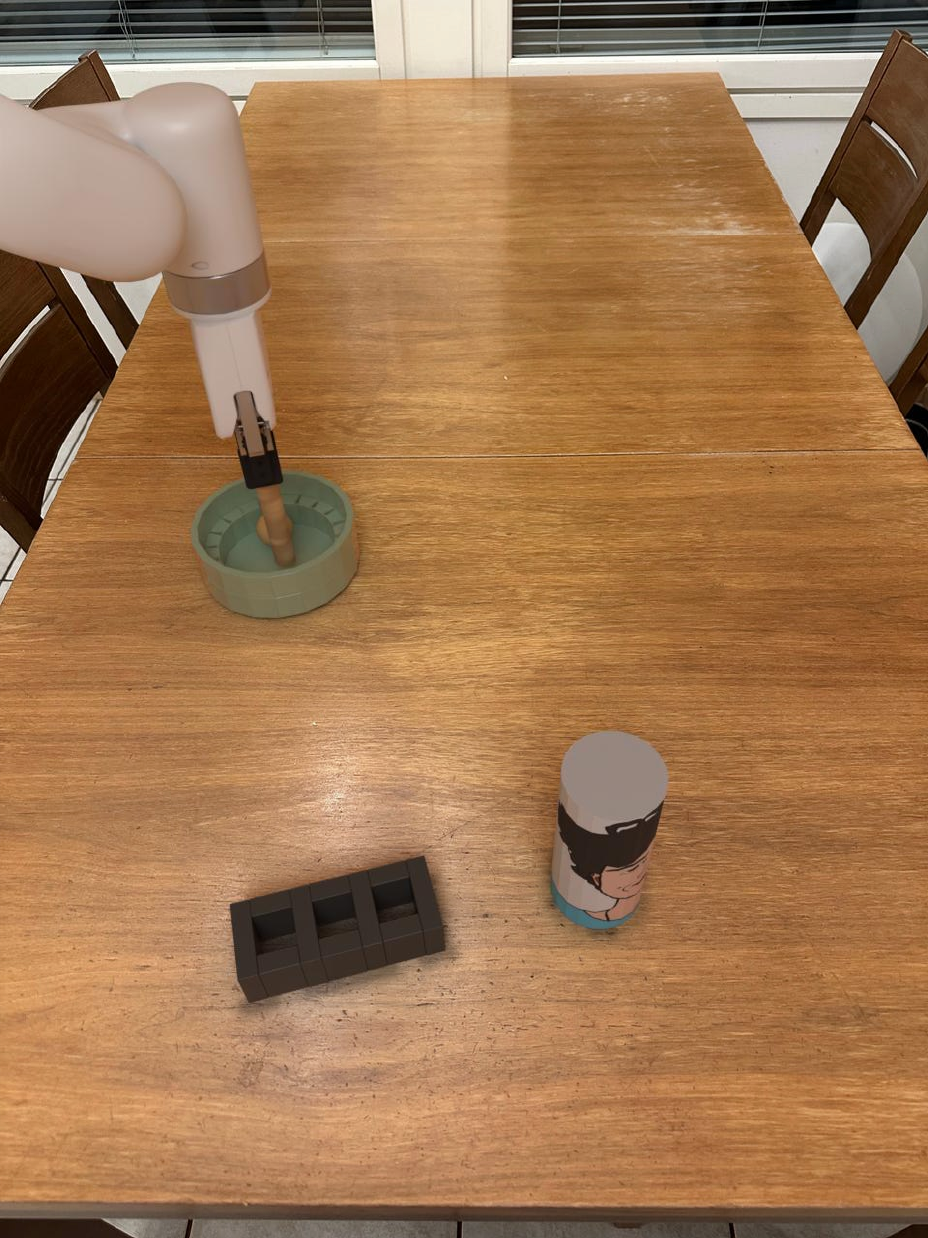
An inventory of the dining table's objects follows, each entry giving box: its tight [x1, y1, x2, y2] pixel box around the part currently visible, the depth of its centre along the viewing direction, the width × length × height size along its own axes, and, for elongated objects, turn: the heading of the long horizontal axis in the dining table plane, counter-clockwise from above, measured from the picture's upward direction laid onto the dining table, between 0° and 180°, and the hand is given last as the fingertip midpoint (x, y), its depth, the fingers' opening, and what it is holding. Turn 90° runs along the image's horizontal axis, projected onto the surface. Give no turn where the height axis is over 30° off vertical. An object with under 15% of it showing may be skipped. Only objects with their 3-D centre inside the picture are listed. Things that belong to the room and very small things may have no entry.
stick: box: [242, 428, 296, 567], centre depth 84 cm, size 2×2×16 cm
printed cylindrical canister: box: [549, 730, 670, 930], centre depth 65 cm, size 7×7×15 cm
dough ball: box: [256, 515, 293, 546], centre depth 95 cm, size 4×4×4 cm
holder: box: [229, 854, 446, 1004], centre depth 67 cm, size 14×6×4 cm, turn 105°
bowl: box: [189, 469, 361, 619], centre depth 92 cm, size 15×15×6 cm
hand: (263, 473), depth 83 cm, fingers closed on stick, 2 cm apart
